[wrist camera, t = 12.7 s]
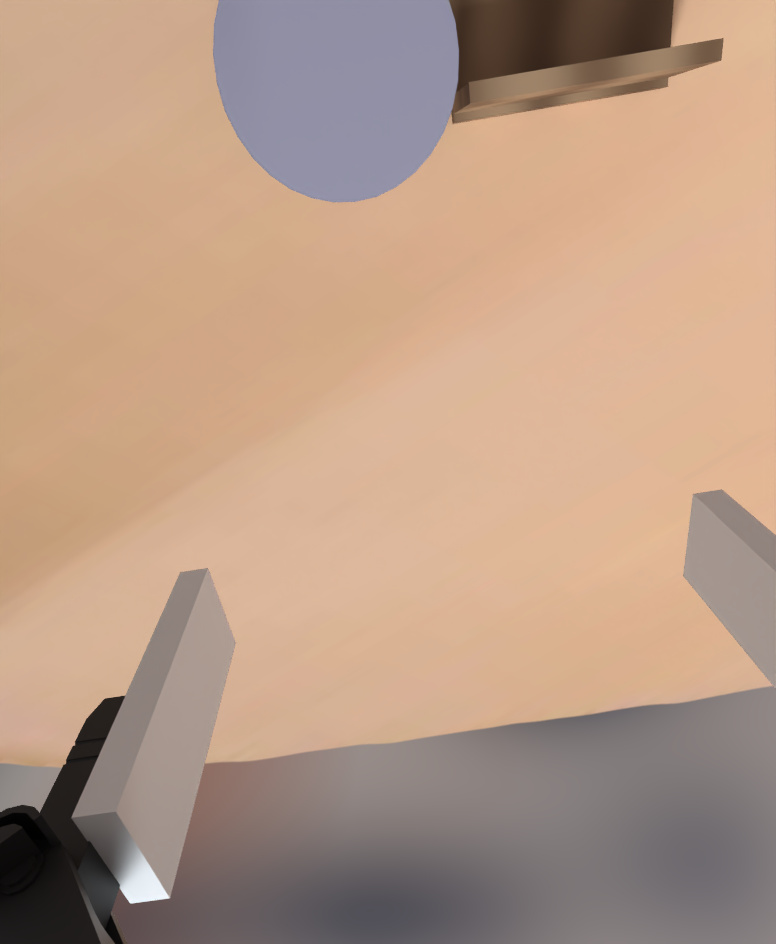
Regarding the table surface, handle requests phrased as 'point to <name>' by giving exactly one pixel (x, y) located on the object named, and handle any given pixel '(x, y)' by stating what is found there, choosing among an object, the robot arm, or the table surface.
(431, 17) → the container
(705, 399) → the table surface
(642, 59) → the rack
